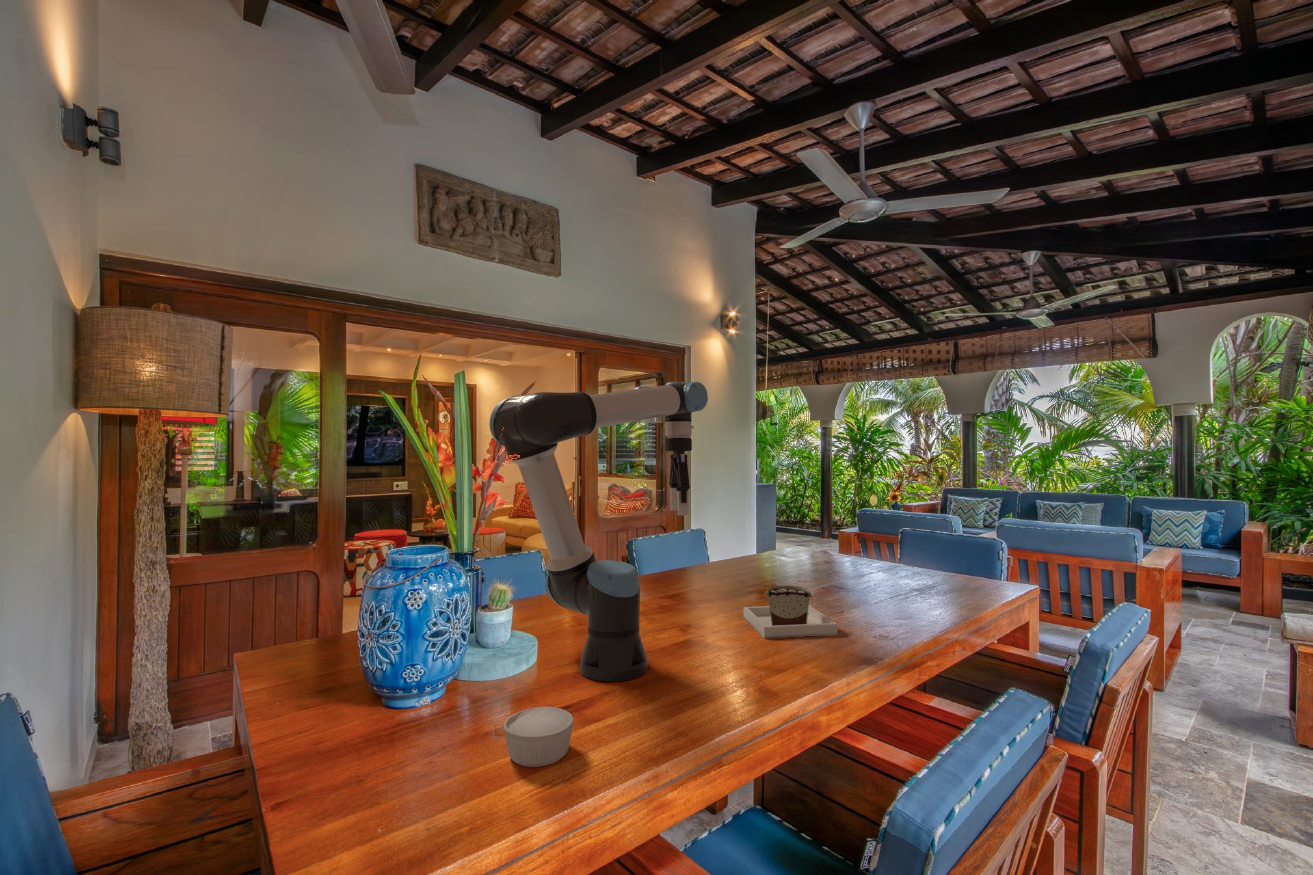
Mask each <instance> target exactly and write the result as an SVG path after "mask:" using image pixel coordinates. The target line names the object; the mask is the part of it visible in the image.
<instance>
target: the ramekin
mask: <svg viewBox="0 0 1313 875" xmlns="http://www.w3.org/2000/svg"><path fill="white" fill-rule="evenodd" d="M573 727H574V716H573V715H572V714H571V712H569V711H567V709H562V708H559V707H554V706H538V707H537V706H536V707H531V708H527V709H523V710H520V711H518V712H516V713H513V714H512V715H510V716H509V717H507V719H506V720H505V721H504V723H503V734H504V735H505V741H506V746H507V747H506V748H507V753H508V756H509V757H510V759H511V760H512V762H514V763H515V764H517V765H520V766H523V767H529V768H539V767H545V766H549V765H552V764H554V763H556V762H558V761H560V760H562V759H563V758H564V757H565V755H566V754H567V753H568V751H569V748H570V746H571V745H570V744H571V738H572V731H573Z"/></svg>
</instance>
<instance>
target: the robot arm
mask: <svg viewBox="0 0 1313 875" xmlns="http://www.w3.org/2000/svg"><path fill="white" fill-rule="evenodd" d="M522 395H523V396H522ZM708 400H709V396H708V390H707V388H706V387H705V385H704V384H703V383H701V382H699V381H687V382H685V381H670V382H667V383H665V385H657V386H646V385H644V386H636V387H635V388H633V389H627V390H621V391H620V390H619V391H612V392H605V393H604V392H603V393H595V394H589V393H588V392H586V391H575V392H574V391H573V392H556V391H554V392H552V391H551V392H550V391H549V392H548V391H539V392H534V393H528V394H527V393H526V394H516V395H511V396H509V397H507V398H505V399H502V400H501V401H500V402H498V403H497V404H496V405H495V407H494V408H493V409H492V412H491V413H490V417H489V430H490V434H491V436H492V437H493V440H495V441H496V442H497V443H498V444H499V445H501V446H504V450H505V452H506V454H507V458H508V457H509V455H514V454H517V455H520V458H517V459H513V460H512V461H510V462H511V463H513V464H516V465H517V467H518V468H519V470H520V471H519V472H520V474H521V477H522V480H523V483H524V486H525V488H526V491H527V494H528V497H529V500H530V503H531V506H532V509H533V512H534V515H535V518H536V521H537V523H538V526H539V530H540V532H541V534H542V538H543V541H544V543H545V547H546V549H547V553H548V555H549V559H548V560H547V562H546V564H545V565H546V569H547V575H546V577H545V581H544V582H545V589H546V593H547V594H548V597H549V598H550V599H551V601H553V602H554V603H555V604H557V605H558V606H559V607H561V608H563V609H566V610H570V611H573V612H574V611H575V612H577V613H580V614H582V615H585V616H587V637H586V641H585V643H584V647H583V650H582V653H581V657H580V658H579V659H580V661H579V668H580V669H579V672H580V673H581V675H582V676H584V677H585V678H586V679H587V678H588V679H590V680H593V681H599V682H624V681H628V680H633V679H636V678H639V677H641V676H643V675H644V674H645V673H646V672H647V671H648V656H647V653H646V649H645V647H644V644H643V640H642V638H641V635H640V633H641V632H640V619H641V618H640V614H641V613H640V608H641V607H640V606H641V605H640V598H641V595H640V594H641V583H640V576H639V574H640V573H639V571H638V569H637V568H636V567H635V566H634V565H632V564H630V563H628V562H624V561H619V560H618V561H617V560H612V559H609V560H608V559H607V560H606V559H605V560H604V559H602V560H597V559H596V556H595V553H594V550H593V548H592V547H590V546H589V545H585V543H584V540H583V536H582V534H581V530H580V528H579V525H578V522H577V521H578V520H577V519H576V515H575V513H574V509H573V507H572V504H571V501H570V497H569V494H568V491H567V488H566V486H565V483H564V480H563V476H562V473H561V470H560V467H559V464H558V461H557V458H556V455H555V452H556V449H557V448H558V446H559V444H558V443H560V442H565V441H568V440H571V439H575V438H579V437H582V436H588V435H591V434H593V433H594V432H595V430H596V429H599V428H600V429H601V428H605V427H612V426H616V425H617V426H618V425H622V424H623V425H624V424H629V423H633V422H640V421H645V420H651V419H657V418H660V417H664V436H666V438H665V441H664V442H665V443H664V445H665V446H664V447H665V451H666V452H673V453H671V454H670V469H669V482H668V484H669V487H670V490H669V491H670V494H669V495H670V511H671V512H672V511H677V515H678V516H689V490H690V489H691V488H690V487H691V486H690V477H689V466H688V458H689V457H688V454H685V452H692V450H693V440H692V439H693V438H691V436H692V435H693V433H692V430H693V429H694V425H692V424H693V423H692V415H693V414H692V413H695V412H700V411H703V409H705V407H706V406H707V405H708V404H707V403H708ZM519 409H520V410H519ZM503 427H504V429H503ZM502 429H503V431H502ZM501 433H502V435H501ZM500 436H501V437H500ZM515 457H517V456H515ZM515 457H513V458H515ZM509 459H511V458H508V460H509Z"/></svg>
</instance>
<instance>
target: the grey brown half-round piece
mask: <svg viewBox="0 0 1313 875" xmlns="http://www.w3.org/2000/svg"><path fill="white" fill-rule="evenodd" d="M765 597H766V598H767V597H768V602H769V604H768V606H770V614H771V622H772V626H778V625H801V624H807V616H808V606H809V605H810V604H809V603H810V598H811V599H812V593H811V592H810V589H808V588H806V587H802V586H796V585H776V586H770V587H769V588H767V591H766V596H765Z"/></svg>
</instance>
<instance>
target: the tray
mask: <svg viewBox="0 0 1313 875" xmlns="http://www.w3.org/2000/svg"><path fill="white" fill-rule="evenodd" d="M743 619H744V620H745V621H746V622H747V621H748V622H747V623H748V624H749V623H750V624H749V625H751V627H752V628H753V629H754V630H755V631H756V632H757V633H758V634H759V635H760V636H761V637H762V638H763V639H764V640H769V639H772V640H773V639H790V638H789V637H794V638H805V637H804V636H815V637H832V636H838V635H839V634H838V632H839V631H838V630H839V629H838V623H837V622H835V621H834V620H832V619H831V618H830V617H828V616H826V615H825V614H823V613H821V611H819V610H817V609H815V608H814V607H813V606H811V605H810V604H809V606H808V616H807V624H801V625H778V626H772V622H771V614H770V605H766V606H765V605H763V606H743ZM787 637H788V638H787Z"/></svg>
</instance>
